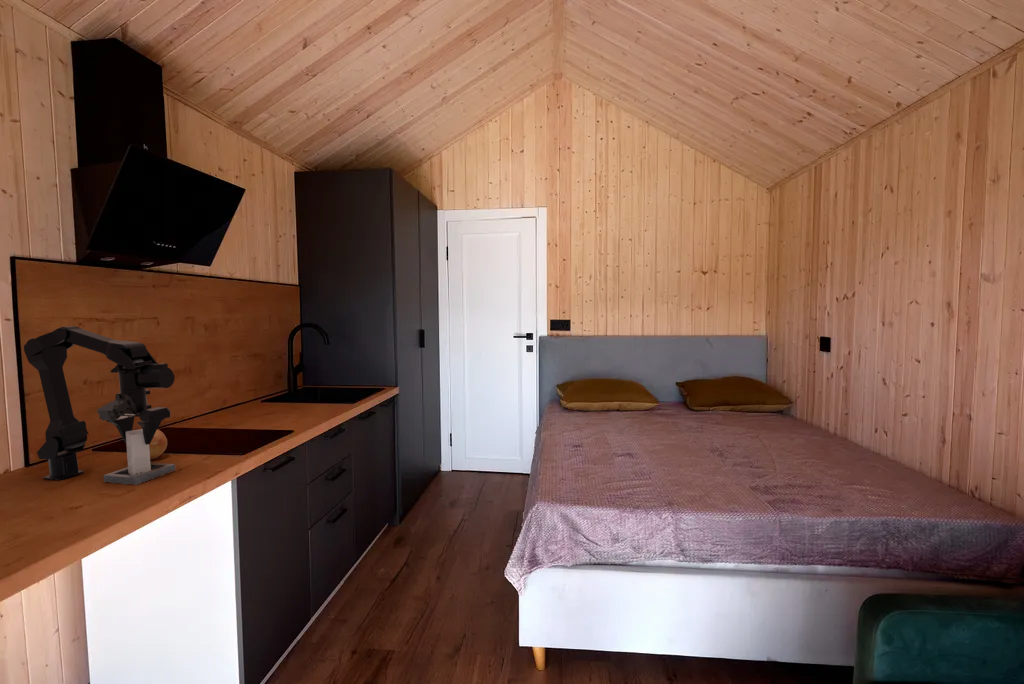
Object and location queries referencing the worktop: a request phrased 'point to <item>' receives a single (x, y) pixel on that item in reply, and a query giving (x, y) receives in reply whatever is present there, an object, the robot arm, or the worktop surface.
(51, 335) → the robot arm
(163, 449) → the onion
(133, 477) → the silver metal square frame
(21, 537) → the worktop surface
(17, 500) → the worktop surface
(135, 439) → the skincare box
